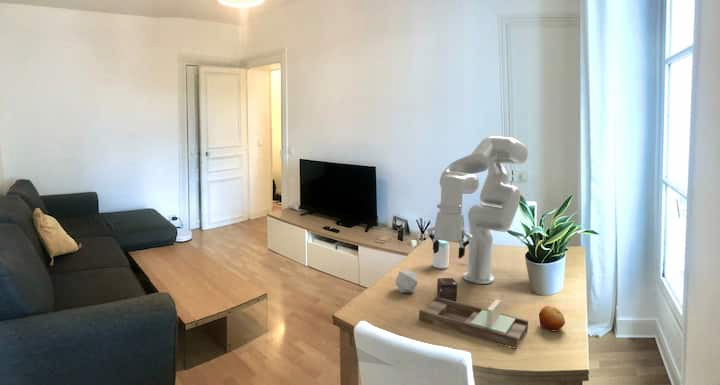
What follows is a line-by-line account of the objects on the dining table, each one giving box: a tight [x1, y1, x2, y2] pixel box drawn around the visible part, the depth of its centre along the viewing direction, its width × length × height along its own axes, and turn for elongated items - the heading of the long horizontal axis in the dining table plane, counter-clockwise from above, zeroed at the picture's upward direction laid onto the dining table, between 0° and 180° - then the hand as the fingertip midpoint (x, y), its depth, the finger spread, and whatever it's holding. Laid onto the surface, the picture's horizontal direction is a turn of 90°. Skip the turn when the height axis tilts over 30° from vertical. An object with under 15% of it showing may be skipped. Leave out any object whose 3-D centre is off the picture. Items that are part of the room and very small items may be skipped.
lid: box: [470, 298, 515, 334], centre depth 142 cm, size 11×11×6 cm
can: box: [432, 240, 450, 270], centre depth 199 cm, size 7×7×12 cm
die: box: [394, 270, 419, 294], centre depth 173 cm, size 8×9×10 cm
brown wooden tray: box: [418, 296, 529, 349], centre depth 147 cm, size 14×32×3 cm, turn 56°
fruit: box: [538, 305, 566, 331], centre depth 145 cm, size 8×8×8 cm
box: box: [436, 277, 458, 302], centre depth 166 cm, size 6×6×7 cm
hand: (448, 254), depth 163 cm, fingers open, 9 cm apart
